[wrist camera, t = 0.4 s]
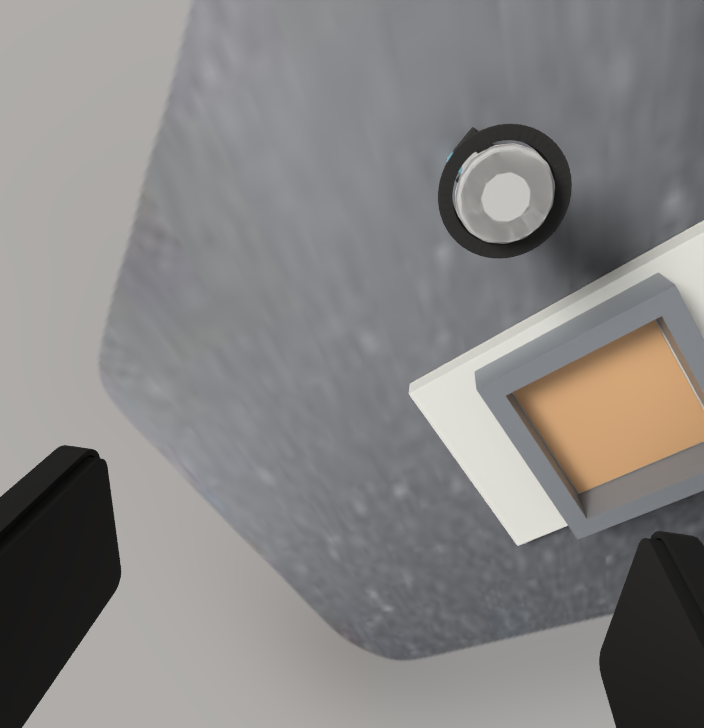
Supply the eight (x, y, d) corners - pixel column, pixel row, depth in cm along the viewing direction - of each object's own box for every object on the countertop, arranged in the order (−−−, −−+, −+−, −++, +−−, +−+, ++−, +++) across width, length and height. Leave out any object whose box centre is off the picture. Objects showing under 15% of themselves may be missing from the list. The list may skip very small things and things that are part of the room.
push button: (576, 182, 31) (631, 210, 22) (506, 255, 33) (529, 309, 24) (486, 99, 30) (504, 92, 21) (420, 180, 32) (410, 207, 23)
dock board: (721, 210, 30) (759, 223, 26) (815, 407, 34) (860, 442, 30) (410, 383, 37) (406, 412, 33) (515, 531, 41) (522, 572, 37)
